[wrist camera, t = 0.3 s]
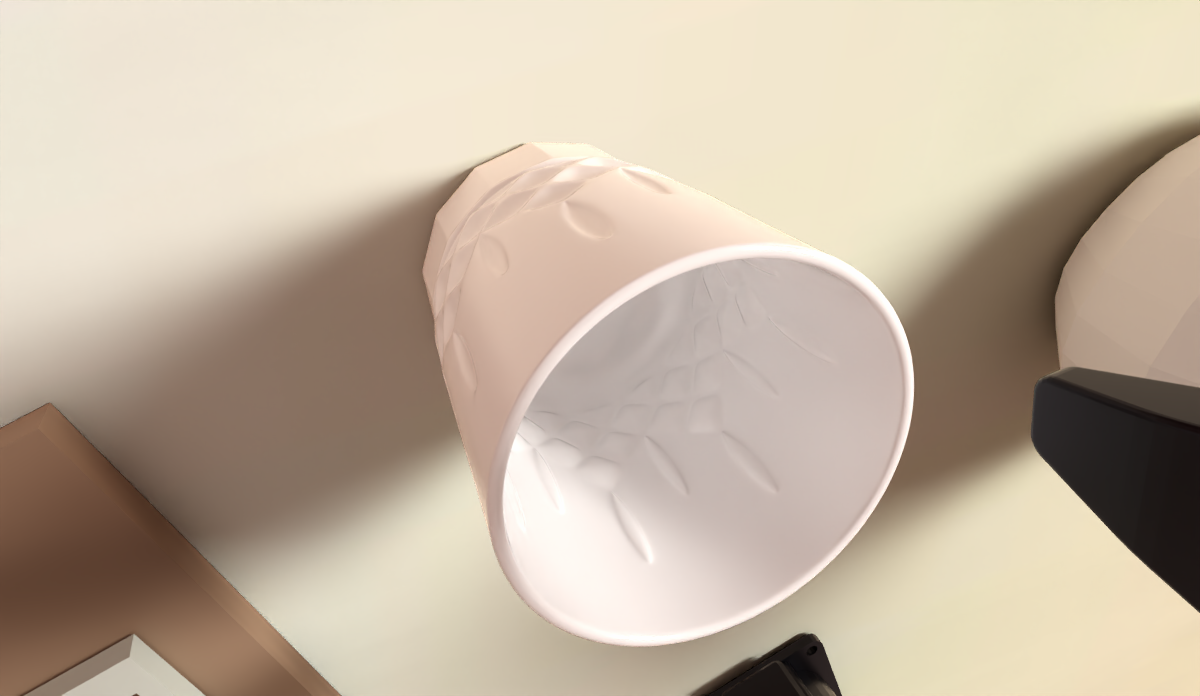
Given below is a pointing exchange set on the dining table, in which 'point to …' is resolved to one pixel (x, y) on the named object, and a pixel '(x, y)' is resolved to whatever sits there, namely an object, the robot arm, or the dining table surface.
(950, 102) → the dining table surface
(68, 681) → the panel
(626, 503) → the white cup
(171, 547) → the board
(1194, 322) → the soap bottle
